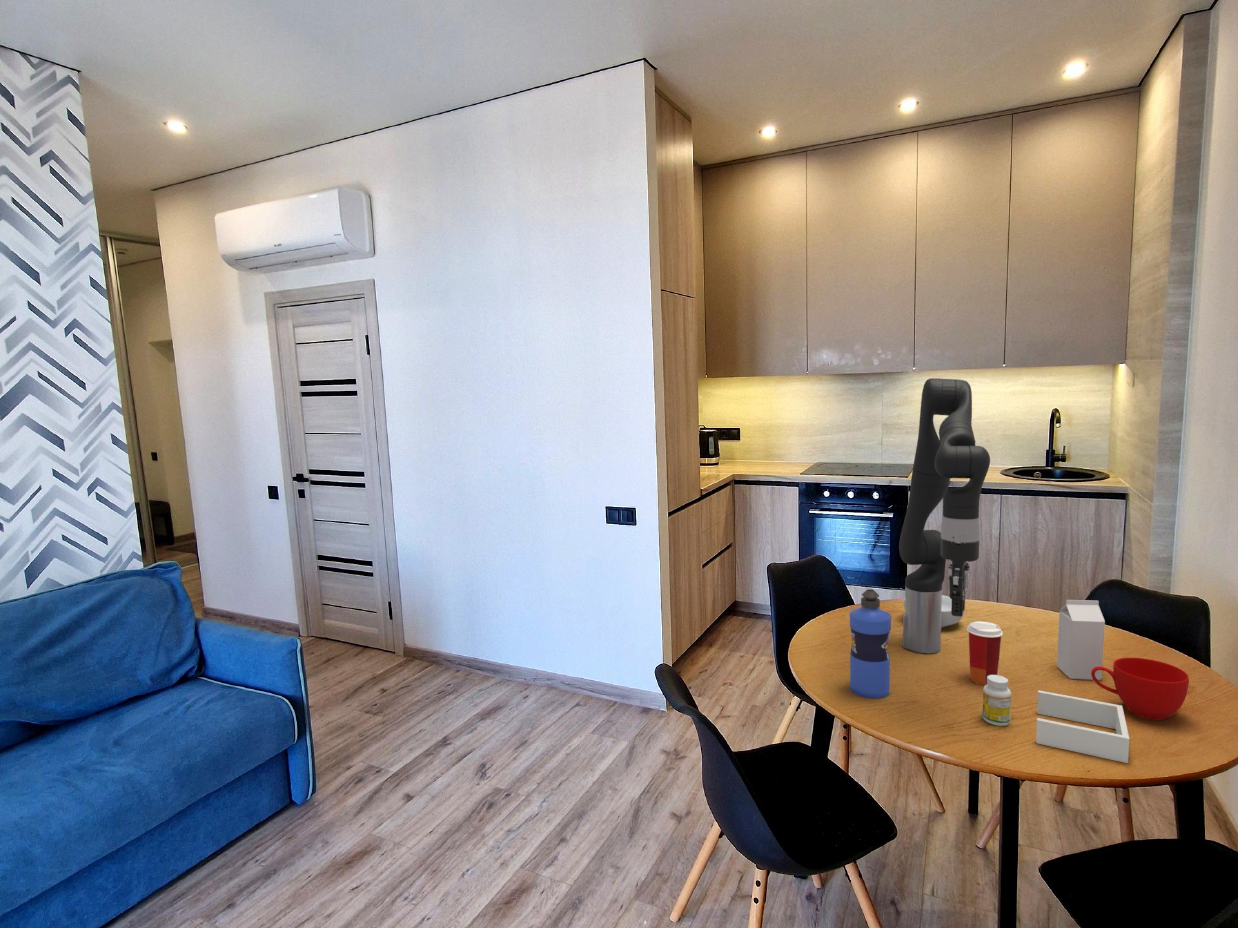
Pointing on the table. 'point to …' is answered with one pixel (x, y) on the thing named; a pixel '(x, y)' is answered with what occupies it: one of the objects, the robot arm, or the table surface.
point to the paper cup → (983, 650)
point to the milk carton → (1080, 639)
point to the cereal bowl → (946, 612)
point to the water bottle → (870, 648)
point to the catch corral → (1079, 736)
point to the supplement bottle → (997, 701)
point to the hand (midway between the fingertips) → (958, 612)
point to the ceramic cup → (1147, 686)
